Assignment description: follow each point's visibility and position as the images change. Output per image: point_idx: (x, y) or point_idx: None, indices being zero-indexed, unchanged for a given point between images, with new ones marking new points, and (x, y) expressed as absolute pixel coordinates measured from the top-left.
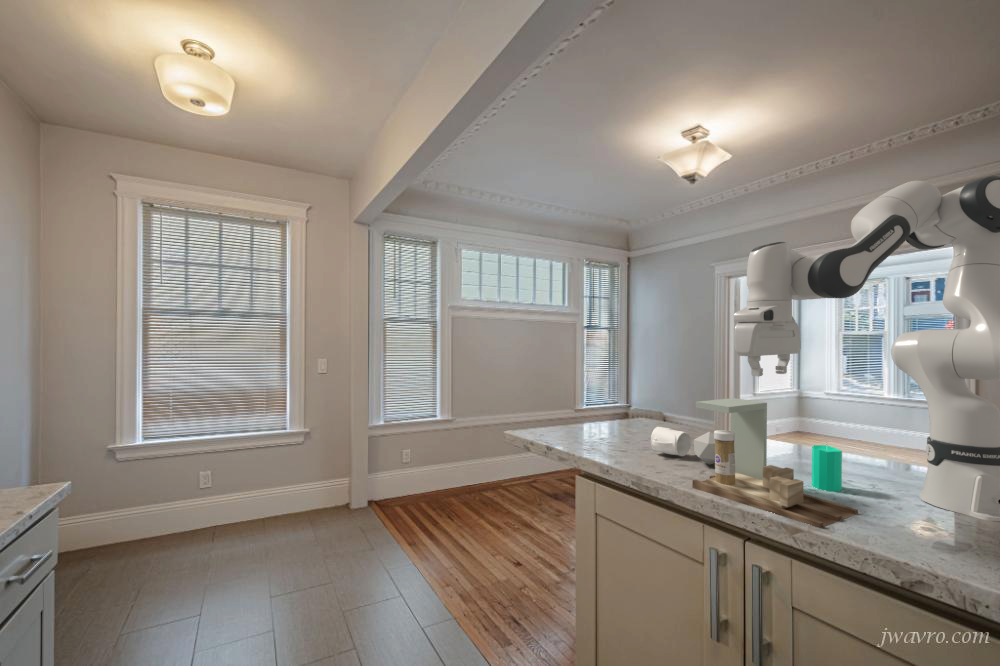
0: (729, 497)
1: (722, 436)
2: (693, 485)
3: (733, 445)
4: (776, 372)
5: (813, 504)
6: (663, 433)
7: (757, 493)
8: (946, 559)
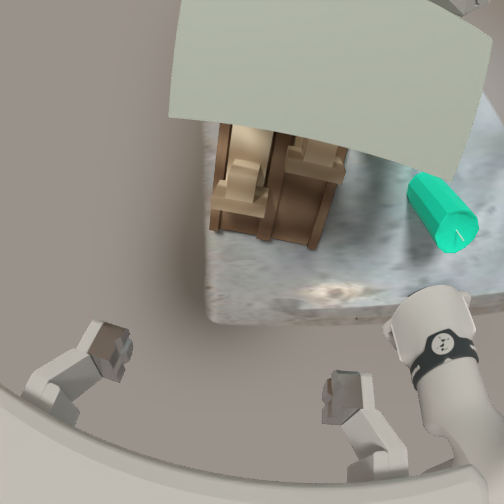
0: None
1: None
2: None
3: None
4: (335, 374)
5: (306, 198)
6: None
7: (245, 134)
8: (251, 306)
